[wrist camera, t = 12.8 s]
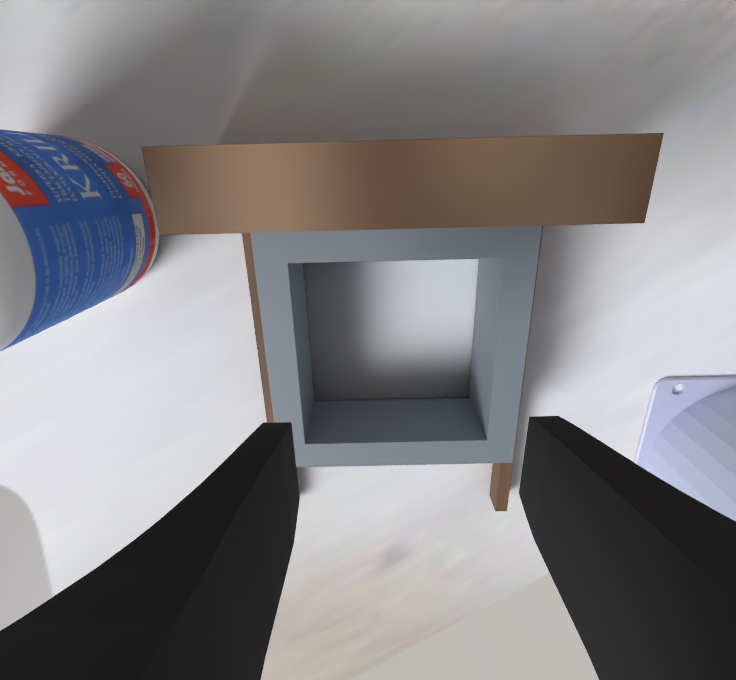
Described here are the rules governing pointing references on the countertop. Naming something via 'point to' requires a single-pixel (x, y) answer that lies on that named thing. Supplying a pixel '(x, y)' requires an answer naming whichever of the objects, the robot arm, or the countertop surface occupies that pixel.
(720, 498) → the robot arm
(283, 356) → the socket block
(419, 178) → the wall
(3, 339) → the pill bottle
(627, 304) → the countertop surface
